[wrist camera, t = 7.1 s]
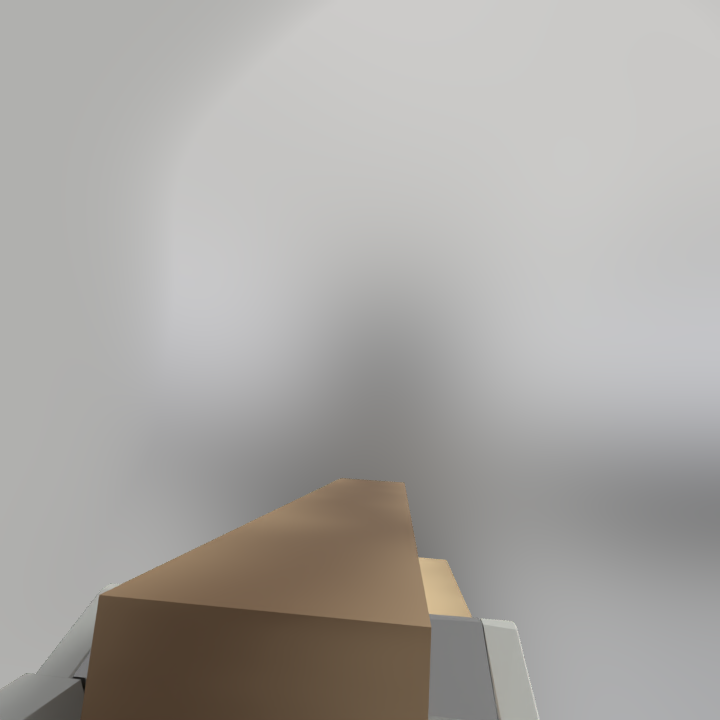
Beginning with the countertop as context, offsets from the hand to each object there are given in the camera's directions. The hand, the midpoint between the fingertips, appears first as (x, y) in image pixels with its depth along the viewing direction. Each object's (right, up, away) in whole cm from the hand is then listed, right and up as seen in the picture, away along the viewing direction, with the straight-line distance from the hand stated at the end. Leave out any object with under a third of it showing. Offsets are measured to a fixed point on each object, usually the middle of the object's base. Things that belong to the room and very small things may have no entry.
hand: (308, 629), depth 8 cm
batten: (0, -4, +7) cm, 8 cm away
